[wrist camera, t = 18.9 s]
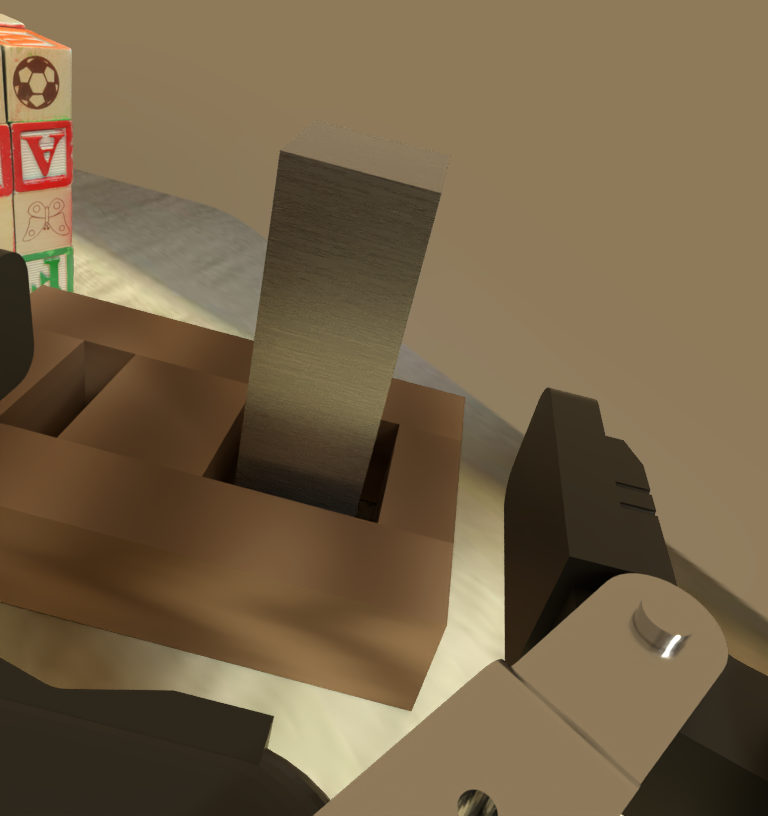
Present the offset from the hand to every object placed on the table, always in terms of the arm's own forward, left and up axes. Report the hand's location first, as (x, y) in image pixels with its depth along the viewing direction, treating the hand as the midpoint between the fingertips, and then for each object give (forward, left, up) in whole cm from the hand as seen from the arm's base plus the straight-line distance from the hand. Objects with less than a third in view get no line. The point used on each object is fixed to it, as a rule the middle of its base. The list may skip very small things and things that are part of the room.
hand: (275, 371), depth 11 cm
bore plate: (0, -11, -13) cm, 17 cm away
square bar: (-3, -9, -13) cm, 16 cm away
